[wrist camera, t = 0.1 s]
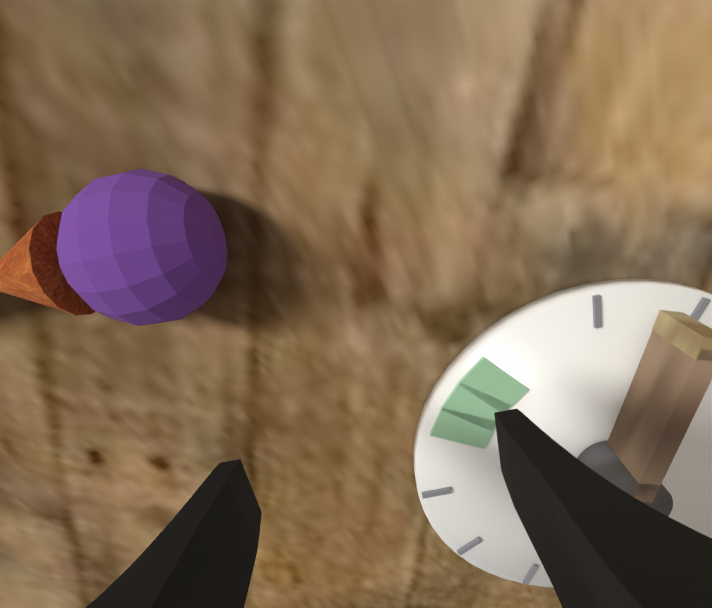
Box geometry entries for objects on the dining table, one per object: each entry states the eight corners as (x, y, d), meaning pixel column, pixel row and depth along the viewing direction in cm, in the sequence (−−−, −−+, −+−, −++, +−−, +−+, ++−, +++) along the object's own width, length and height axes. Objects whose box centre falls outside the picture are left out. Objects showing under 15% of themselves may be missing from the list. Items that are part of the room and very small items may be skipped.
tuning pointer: (623, 489, 24) (658, 537, 22) (566, 485, 24) (594, 532, 21) (702, 312, 20) (757, 343, 18) (634, 305, 20) (679, 334, 17)
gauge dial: (760, 542, 28) (777, 559, 27) (443, 595, 29) (447, 613, 28) (806, 235, 20) (832, 241, 19) (378, 328, 22) (380, 339, 21)
